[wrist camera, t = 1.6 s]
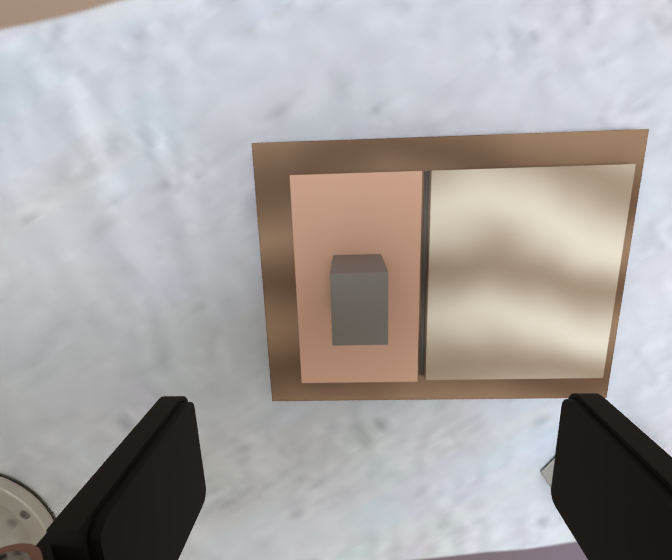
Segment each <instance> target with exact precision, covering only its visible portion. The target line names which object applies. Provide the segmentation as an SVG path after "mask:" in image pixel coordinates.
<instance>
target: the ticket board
mask: <svg viewBox="0 0 672 560" xmlns="http://www.w3.org/2000/svg"><path fill="white" fill-rule="evenodd" d="M648 132H649V129H639V130H611V131H583V132H554V133H526V134H498V135H470V136H442V137H414V138H386V139H358V140H330V141H302V142H274V143H252V154H253V166H254V179H255V191H256V204H257V216H258V229H259V241H260V254H261V266H262V279H263V291H264V304H265V316H266V329H267V341H268V354H269V366H270V379H271V391H272V401H331V400H427V399H523V398H569V396H570V395H571V394H573V393H598V394H600V395H601V396H603V397H604V398H606V397H607V391H608V384H609V378H610V372H611V365H612V359H613V353H614V346H615V340H616V334H617V327H618V321H619V315H620V309H621V302H622V296H623V290H624V283H625V277H626V271H627V264H628V258H629V252H630V245H631V239H632V233H633V226H634V220H635V214H636V207H637V201H638V195H639V188H640V182H641V176H642V169H643V163H644V157H645V151H646V144H647V138H648ZM403 171H422V204H421V247H420V290H419V333H418V376H417V382H349V383H302V379H301V362H300V344H299V327H298V310H297V293H296V276H295V259H294V242H293V224H292V207H291V190H290V175H311V174H342V173H372V172H403Z"/></svg>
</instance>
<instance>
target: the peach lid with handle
mask: <svg viewBox="0 0 672 560" xmlns="http://www.w3.org/2000/svg"><path fill="white" fill-rule="evenodd" d="M290 190H291V207H292V224H293V242H294V259H295V276H296V293H297V310H298V327H299V344H300V362H301V379H302V383H349V382H417V376H418V333H419V290H420V247H421V204H422V171H403V172H372V173H342V174H311V175H290Z"/></svg>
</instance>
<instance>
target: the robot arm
mask: <svg viewBox="0 0 672 560" xmlns="http://www.w3.org/2000/svg"><path fill="white" fill-rule="evenodd" d="M205 495H206V485H205V478H204V471H203V464H202V457H201V450H200V443H199V436H198V429H197V421H196V414H195V408H194V404H193V403H192V402H188V400H187V398H186V397H184V396H164V397H161V398H160V399H159V400H158V401H157V402H156V403H155V404H154V406H153V407H152V408H151V409H150V410H149V411H148V413H147V414H146V415H145V416H144V417H143V418H142V419H141V421H140V422H139V423H138V424H137V425H136V426H135V428H134V429H133V430H132V431H131V432H130V433H129V435H128V436H127V437H126V438H125V439H124V440H123V441H122V443H121V444H120V445H119V446H118V447H117V448H116V450H115V451H114V452H113V453H112V454H111V455H110V456H109V458H108V459H107V460H106V461H105V462H104V463H103V465H102V466H101V467H100V468H99V469H98V470H97V472H96V473H95V474H94V475H93V476H92V477H91V478H90V480H89V481H88V482H87V483H86V484H85V485H84V487H83V488H82V489H81V490H80V491H79V492H78V493H77V495H76V496H75V497H74V498H73V499H72V500H71V502H70V503H69V504H68V505H67V506H66V507H65V509H64V510H63V511H62V512H61V513H60V514H59V515H58V517H57V518H56V519H55V520H54V521H53V519H52V517H51V515H50V514H49V512H48V511H47V509H46V508H45V507H44V505H43V504H42V503H41V502H40V501H39V500H38V499H37V498H36V497H35V496H34V495H33V494H31V493H30V492H29V491H27V490H26V489H25V488H23V487H22V486H20V485H18V484H16V483H14V482H13V481H11V480H9V479H6V478H3V477H1V476H0V560H178V559H179V557H180V555H181V552H182V550H183V548H184V546H185V543H186V541H187V539H188V537H189V535H190V532H191V530H192V528H193V526H194V524H195V521H196V519H197V517H198V515H199V513H200V510H201V508H202V506H203V503H204V500H205ZM551 495H552V500H553V502H554V505H555V507H556V508H557V510H558V512H559V513H560V515H561V516H562V518H563V520H564V521H565V523H566V525H567V526H568V528H569V529H570V531H571V533H572V534H573V536H574V538H575V539H576V541H577V542H578V544H579V546H580V547H581V549H582V550H583V552H584V553H585V555H586V557H587V558H588V560H672V457H671V456H670V455H669V454H667V453H666V452H665V451H664V450H663V449H662V448H661V447H660V446H658V445H657V444H656V443H655V442H654V441H653V440H652V439H650V438H649V437H648V436H647V435H646V434H645V433H644V432H642V431H641V430H640V429H639V428H638V427H637V426H636V425H634V424H633V423H632V422H631V421H630V420H629V419H628V418H627V417H625V416H624V415H623V414H622V413H621V412H620V411H619V410H617V409H616V408H615V407H614V406H613V405H612V404H611V403H609V402H608V401H607V400H606V399H605V398H604V397H603V396H601V395H600V394H598V393H573V394H571V395H570V396H569V398H568V399H565V400H564V401H563V402H562V407H561V415H560V422H559V430H558V438H557V446H556V453H555V461H554V469H553V477H552V484H551Z"/></svg>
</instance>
